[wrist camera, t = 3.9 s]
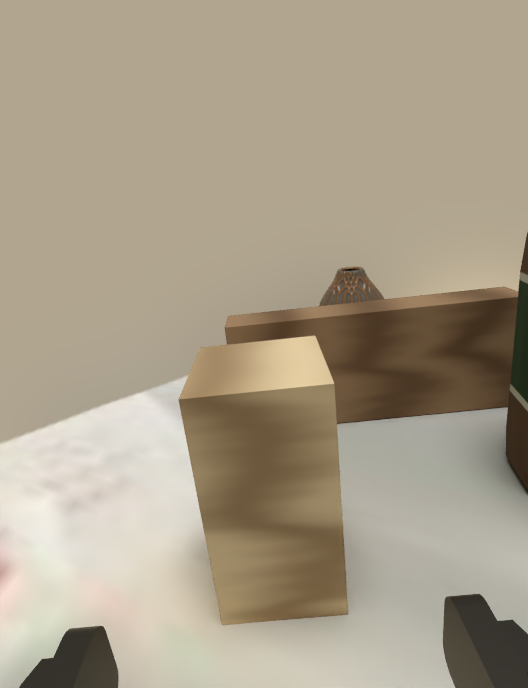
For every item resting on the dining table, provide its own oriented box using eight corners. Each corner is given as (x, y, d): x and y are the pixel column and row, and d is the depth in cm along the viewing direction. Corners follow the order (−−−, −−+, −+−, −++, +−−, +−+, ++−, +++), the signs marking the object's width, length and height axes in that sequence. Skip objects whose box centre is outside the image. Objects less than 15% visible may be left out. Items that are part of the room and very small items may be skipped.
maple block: (328, 522, 21) (315, 335, 18) (347, 614, 16) (334, 383, 13) (230, 531, 21) (200, 347, 18) (222, 624, 17) (178, 399, 13)
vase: (306, 361, 42) (299, 275, 39) (340, 340, 47) (336, 262, 44) (370, 373, 38) (367, 277, 35) (400, 348, 43) (400, 262, 40)
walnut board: (496, 387, 33) (504, 286, 30) (518, 405, 30) (529, 295, 27) (241, 412, 33) (228, 315, 31) (239, 432, 30) (224, 327, 28)
